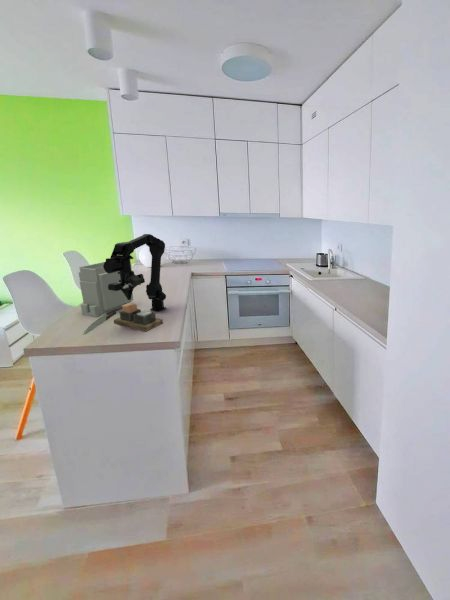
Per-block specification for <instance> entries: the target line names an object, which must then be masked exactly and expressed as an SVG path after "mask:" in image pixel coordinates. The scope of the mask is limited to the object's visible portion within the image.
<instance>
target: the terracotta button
mask: <svg viewBox="0 0 450 600" xmlns="http://www.w3.org/2000/svg"><path fill="white" fill-rule="evenodd" d="M121 308H122V311H123V312H126V313H132V312H134V311H137V309H138V305H137V303H136V304H135V303H132V302H129V303H127V304H124V305H122V307H121Z"/></svg>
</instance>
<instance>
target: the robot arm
mask: <svg viewBox="0 0 450 600" xmlns="http://www.w3.org/2000/svg"><path fill="white" fill-rule="evenodd" d="M144 245H146V246H147V247H148V249H149V251H148V252H149V253H150V255H151V263H150V264H151V265H150V281H149V283H148V284H146V286H145V288H146V290H145V292H146V296H147V297H148V299H149V300H151V308H150V310H151V311H153V312H161V311H164V310H165V309H167V307H166V306H165V304H164V301H165V300H166V297H167V294H165V293H164V292H163V286H162V284H161V263H162V256H163V255H164V253H165V249H166V243H165V242H164V240H161V239H160V238H158V237H156V236H154V235H153V234H150V233H144V234H142V235H141V236H138V237H136V238H134V239H132V240H129V241H123V242H117V243H116V244H114V246H113V249H112V252H111V254H110V258H109V257H107V258H105V261H104V262H105V263H104V266H103V267H104V270H105V271H106V272H107V273H113V272H117V271H119V272H118V274H120V280H119V282H121V283H111V284H109V285H108V290H113V291H119V290H121V291H122V292H123V293H124V295H125V296H126V298H127V299H128V300H131V296H132V293H133V292H134V289H135V288H136V287H137V286H140V285H142V284H144V283H146V281H145V280H146V279H145V278H144V274H142V273H139V274H135V272H134V270H132V263H131V260H133V259H134V257H133V256H132V254H133V253H134V251H135V250H136V249H138V248H140V247H142V246H144Z"/></svg>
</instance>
